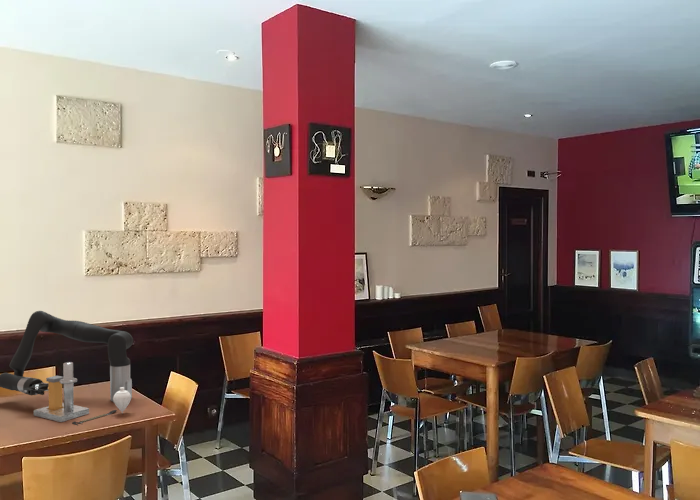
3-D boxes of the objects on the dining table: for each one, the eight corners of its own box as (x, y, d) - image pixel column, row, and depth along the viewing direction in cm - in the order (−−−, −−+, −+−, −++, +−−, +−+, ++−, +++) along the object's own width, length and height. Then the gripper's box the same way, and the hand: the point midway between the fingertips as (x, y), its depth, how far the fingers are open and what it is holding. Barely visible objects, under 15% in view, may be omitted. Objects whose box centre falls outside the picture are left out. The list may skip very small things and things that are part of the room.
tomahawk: (80, 428, 250) (80, 426, 250) (71, 424, 254) (71, 422, 254) (123, 415, 268) (123, 413, 268) (114, 411, 271) (114, 409, 271)
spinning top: (126, 410, 273) (126, 384, 273) (134, 413, 268) (133, 387, 268) (110, 413, 268) (110, 387, 268) (117, 417, 263) (117, 390, 262)
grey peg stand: (33, 415, 264) (33, 362, 264) (61, 407, 277) (61, 356, 276) (61, 422, 255) (60, 367, 255) (89, 413, 268) (88, 361, 267)
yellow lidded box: (46, 414, 267) (46, 377, 267) (57, 411, 272) (56, 375, 271) (53, 415, 265) (53, 379, 264) (64, 412, 269) (64, 376, 269)
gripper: (15, 381, 270) (37, 385, 262) (44, 374, 283) (66, 378, 275) (15, 397, 270) (37, 402, 263) (44, 390, 283) (66, 394, 275)
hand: (52, 390), depth 269 cm, fingers open, 8 cm apart
